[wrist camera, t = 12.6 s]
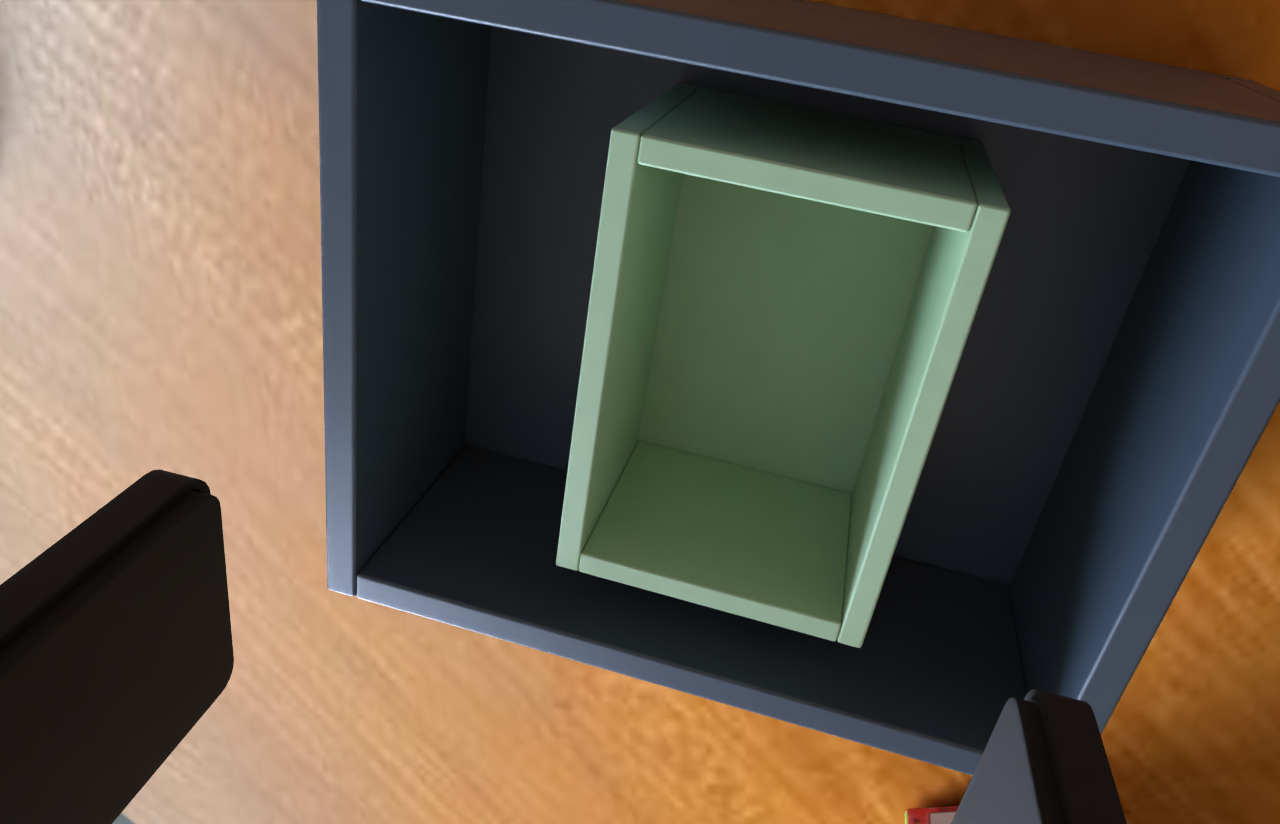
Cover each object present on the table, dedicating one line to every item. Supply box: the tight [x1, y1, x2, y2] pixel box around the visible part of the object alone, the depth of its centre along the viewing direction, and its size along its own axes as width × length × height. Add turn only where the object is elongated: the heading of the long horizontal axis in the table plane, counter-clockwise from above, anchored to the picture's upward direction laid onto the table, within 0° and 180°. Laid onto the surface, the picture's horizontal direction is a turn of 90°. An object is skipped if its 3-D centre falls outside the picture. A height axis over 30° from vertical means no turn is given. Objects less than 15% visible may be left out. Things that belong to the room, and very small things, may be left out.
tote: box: [317, 0, 1280, 775], centre depth 19 cm, size 16×13×7 cm
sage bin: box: [556, 83, 1010, 648], centre depth 19 cm, size 6×9×6 cm
